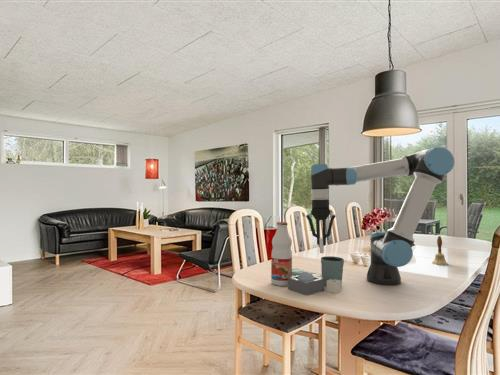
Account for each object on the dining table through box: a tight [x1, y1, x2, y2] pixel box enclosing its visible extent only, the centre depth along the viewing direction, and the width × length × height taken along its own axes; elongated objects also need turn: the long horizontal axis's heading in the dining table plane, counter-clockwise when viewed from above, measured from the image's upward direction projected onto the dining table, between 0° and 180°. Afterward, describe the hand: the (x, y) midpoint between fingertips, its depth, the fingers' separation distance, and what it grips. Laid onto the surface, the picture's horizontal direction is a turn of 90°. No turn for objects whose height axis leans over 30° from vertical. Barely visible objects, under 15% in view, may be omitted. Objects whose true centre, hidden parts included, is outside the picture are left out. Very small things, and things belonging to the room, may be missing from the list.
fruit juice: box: [270, 221, 293, 287], centre depth 158 cm, size 9×9×28 cm
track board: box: [292, 267, 322, 278], centre depth 170 cm, size 24×13×1 cm, turn 37°
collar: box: [287, 275, 325, 296], centre depth 149 cm, size 11×11×5 cm
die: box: [326, 279, 342, 294], centre depth 147 cm, size 4×4×5 cm
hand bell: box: [431, 235, 449, 266], centre depth 200 cm, size 8×8×16 cm
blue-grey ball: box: [298, 270, 314, 282], centre depth 149 cm, size 7×7×7 cm
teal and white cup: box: [320, 255, 345, 288], centre depth 156 cm, size 10×10×12 cm
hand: (321, 252), depth 152 cm, fingers closed
